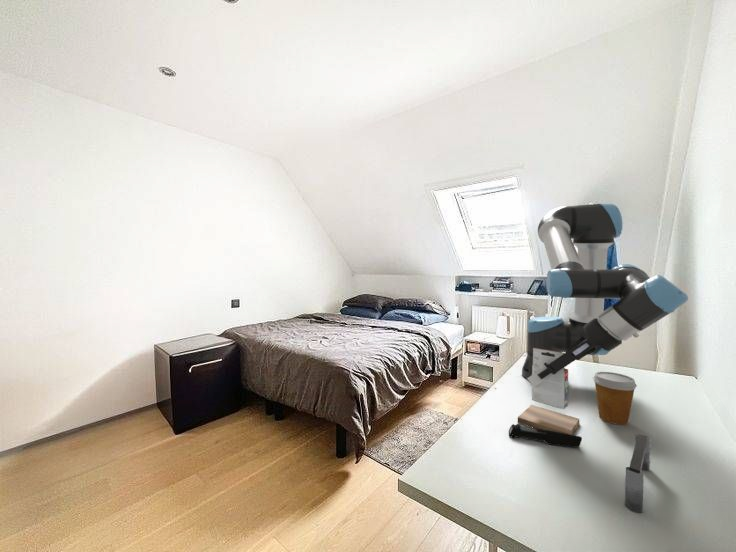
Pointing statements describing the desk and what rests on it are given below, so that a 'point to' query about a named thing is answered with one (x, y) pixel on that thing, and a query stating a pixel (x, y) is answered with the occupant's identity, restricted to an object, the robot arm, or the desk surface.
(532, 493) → the desk surface
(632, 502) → the dark grey cabinet handle
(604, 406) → the disposable coffee cup
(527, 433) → the electric trimmer
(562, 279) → the robot arm
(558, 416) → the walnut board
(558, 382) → the ink box
